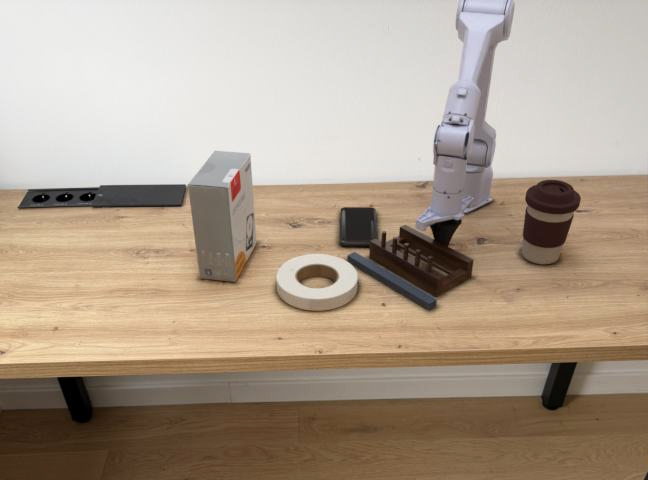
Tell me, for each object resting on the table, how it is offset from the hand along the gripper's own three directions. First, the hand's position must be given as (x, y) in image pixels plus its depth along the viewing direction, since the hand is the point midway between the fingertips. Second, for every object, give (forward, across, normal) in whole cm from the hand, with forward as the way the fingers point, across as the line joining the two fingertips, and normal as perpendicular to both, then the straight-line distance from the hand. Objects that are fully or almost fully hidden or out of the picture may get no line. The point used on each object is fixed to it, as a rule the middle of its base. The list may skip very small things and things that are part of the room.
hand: (440, 249), depth 137 cm
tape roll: (+2, -26, +8) cm, 27 cm away
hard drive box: (+2, -33, +27) cm, 42 cm away
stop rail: (+2, -14, 0) cm, 14 cm away
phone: (+2, -5, +19) cm, 20 cm away
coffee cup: (+2, +15, -13) cm, 20 cm away
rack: (+2, -6, 0) cm, 6 cm away
